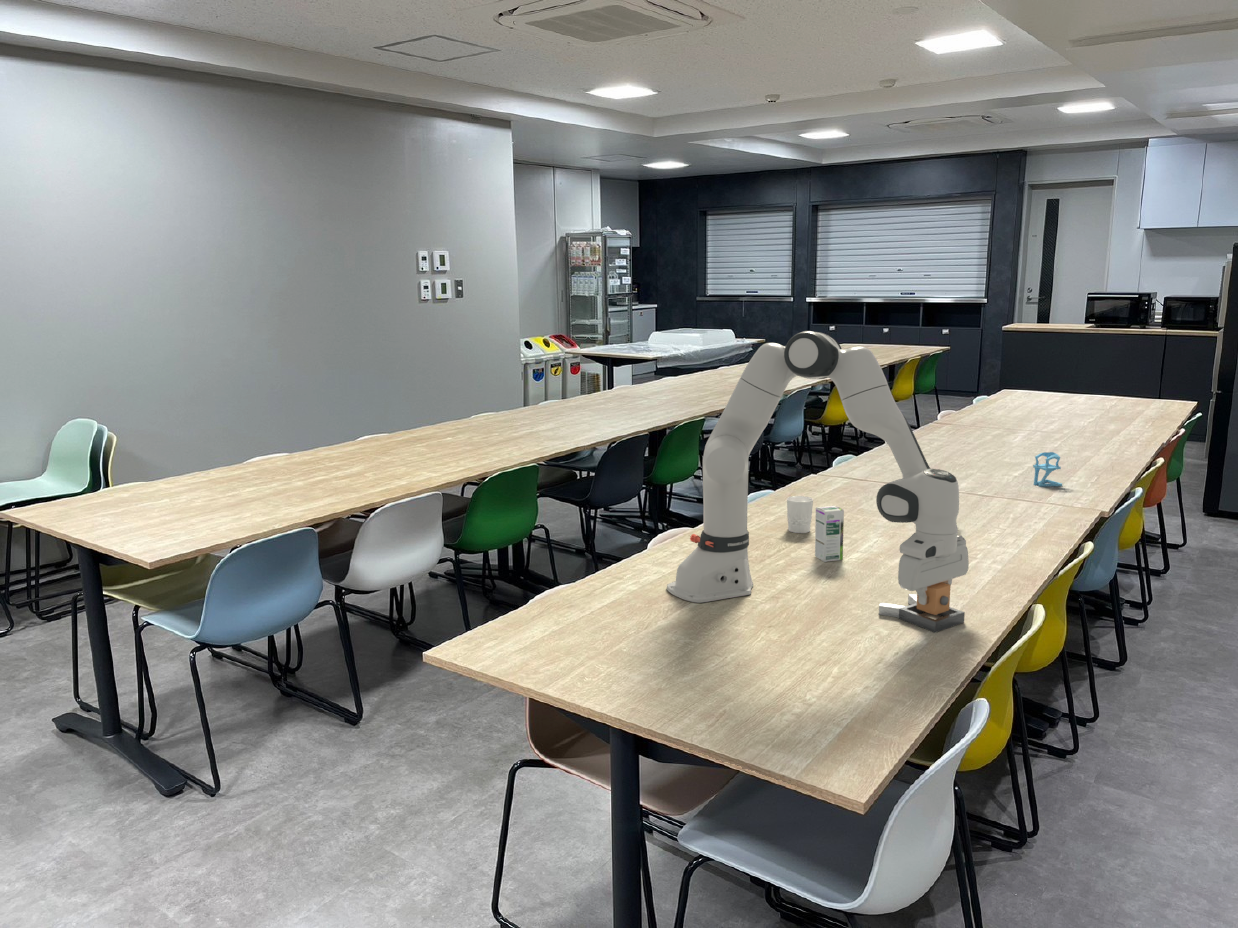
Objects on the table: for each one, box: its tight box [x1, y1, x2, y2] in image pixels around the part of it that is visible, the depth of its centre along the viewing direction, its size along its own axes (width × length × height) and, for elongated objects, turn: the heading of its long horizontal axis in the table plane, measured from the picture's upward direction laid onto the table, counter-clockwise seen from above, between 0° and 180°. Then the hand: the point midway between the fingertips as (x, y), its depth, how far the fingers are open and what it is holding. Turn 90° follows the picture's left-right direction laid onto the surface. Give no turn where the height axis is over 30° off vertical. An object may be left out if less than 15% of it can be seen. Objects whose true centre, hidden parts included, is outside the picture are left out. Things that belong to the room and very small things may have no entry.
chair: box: [1032, 451, 1063, 488], centre depth 328 cm, size 8×8×12 cm
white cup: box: [786, 495, 814, 534], centre depth 277 cm, size 8×8×10 cm
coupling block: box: [916, 582, 952, 616], centre depth 204 cm, size 5×7×6 cm
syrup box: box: [814, 505, 845, 563], centre depth 249 cm, size 6×6×14 cm
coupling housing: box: [878, 593, 965, 633], centre depth 207 cm, size 13×16×2 cm
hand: (932, 600), depth 204 cm, fingers closed on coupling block, 5 cm apart
